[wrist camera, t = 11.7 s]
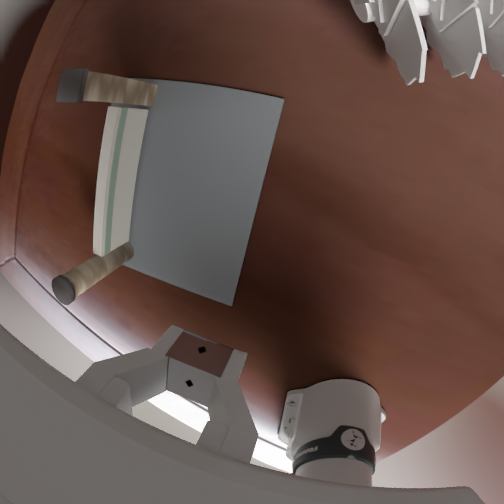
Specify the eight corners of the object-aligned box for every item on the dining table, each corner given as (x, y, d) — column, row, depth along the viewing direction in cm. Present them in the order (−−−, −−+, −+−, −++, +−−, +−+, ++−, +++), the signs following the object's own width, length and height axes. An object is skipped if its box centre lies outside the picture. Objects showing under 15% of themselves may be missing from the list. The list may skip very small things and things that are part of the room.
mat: (232, 304, 42) (231, 306, 42) (98, 252, 45) (97, 253, 45) (284, 99, 31) (284, 99, 31) (118, 78, 34) (116, 77, 34)
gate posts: (136, 262, 44) (72, 309, 31) (118, 255, 44) (53, 298, 31) (162, 84, 33) (84, 67, 20) (140, 82, 34) (61, 69, 20)
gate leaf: (129, 241, 42) (102, 257, 36) (120, 237, 42) (92, 252, 36) (149, 109, 34) (118, 107, 28) (138, 108, 34) (107, 106, 28)
